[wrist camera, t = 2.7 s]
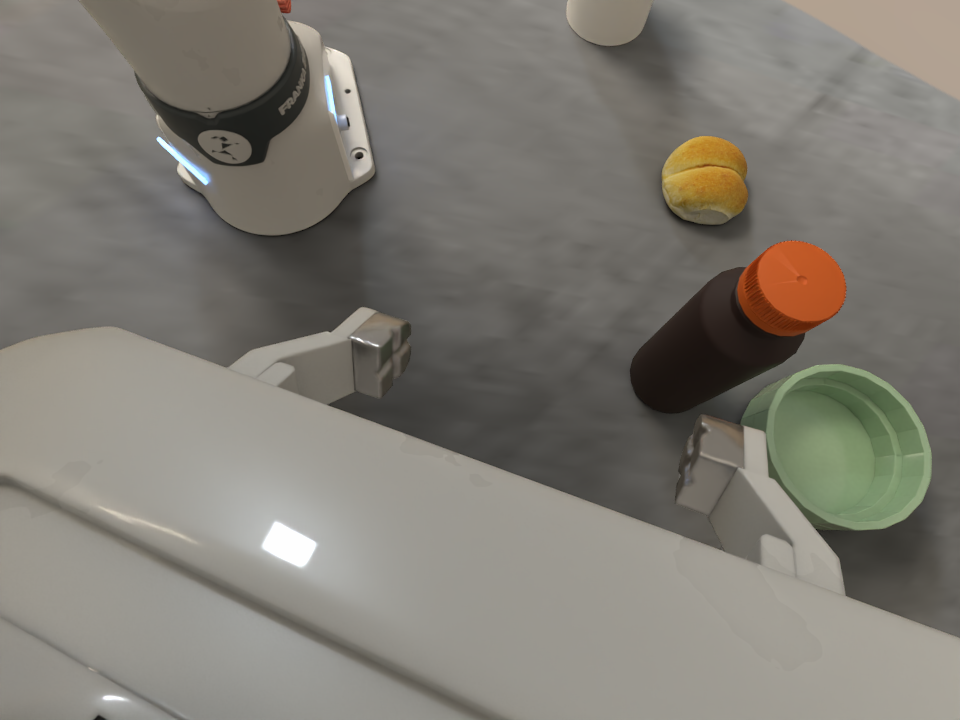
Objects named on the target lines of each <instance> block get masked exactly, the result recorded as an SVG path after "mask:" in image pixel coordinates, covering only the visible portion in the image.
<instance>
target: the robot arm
mask: <svg viewBox="0 0 960 720" xmlns="http://www.w3.org/2000/svg"><path fill="white" fill-rule="evenodd" d="M78 1H79V2H80V3H81V4H82V5H83V7H84V8H85V9H86V10H87V11H88V13H89V14H90V15H91V16H92V17H93V19H94V20H95V21H96V22H97V23H98V25H99V26H100V27H101V28H102V30H103V31H104V32H105V33H106V35H107V36H108V37H109V38H110V40H111V41H112V42H113V43H114V45H115V46H116V47H117V49H118V50H119V51H120V52H121V54H122V55H123V56H124V58H125V59H126V60H127V61H128V63H129V64H130V65H131V67H132V68H133V69H134V72H135V76H136V79H137V82H138V84H139V86H140V88H141V90H142V91H143V93H144V95H145V97H146V99H147V101H148V102H149V104H150V106H151V107H152V108H153V110H154V111H155V112H156V114H157V116H156V121H157V124H158V126H159V128H160V130H161V131H162V133H163V134H164V136H165V138H166V139H167V141H168V143H169V144H170V146H171V147H172V148H171V147H170V146H169V145H167V144H166V143H165V142H164V141H163V140H162V139H161V138H160V137H159V138H158V139H157V140H158V142H159V143H160V144H161V145H162V146H163V147H164V148H165V149H166V150H168V151H169V152H170V153H171V154H172V155H173V156H174V157H175V158H176V159H177V160H179V164H178V167H177V172H178V174H179V176H180V177H181V179H182V180H183V182H184V183H186V184H187V185H188V186H190V187H191V188H193V189H195V190H196V191H198V192H200V193H202V194H203V195H204V196H205V197H206V199H207V200H208V202H209V203H210V205H211V206H212V208H213V209H214V210H215V212H216V213H217V214H218V215H219V216H220V217H221V218H222V219H223V220H225V221H226V222H227V223H229V224H230V225H232V226H234V227H236V228H238V229H240V230H243V231H246V232H249V233H253V234H259V235H284V234H290V233H294V232H297V231H301V230H303V229H306V228H308V227H310V226H312V225H314V224H316V223H318V222H319V221H321V220H322V219H324V218H325V217H327V216H328V215H329V214H330V213H331V212H332V211H333V210H334V209H335V208H336V207H337V206H338V205H339V204H340V202H341V201H342V200H343V199H344V197H345V196H346V195H347V194H348V193H349V192H350V191H351V190H353V189H354V188H356V187H358V186H360V185H362V184H363V183H365V182H366V181H368V180H369V179H370V178H371V177H372V176H373V175H374V173H375V165H374V160H373V156H372V151H371V147H370V142H369V138H368V133H367V128H366V124H365V119H364V115H363V110H362V106H361V101H360V96H359V92H358V87H357V83H356V78H355V74H354V69H353V66H352V63H351V61H350V58H349V57H348V56H347V55H345V54H343V53H341V52H339V51H337V50H335V49H331V48H328V47H324V44H323V40H322V38H321V35H320V34H319V33H318V32H317V31H316V30H314V29H313V28H311V27H309V26H307V25H304V24H302V23H298V22H294V21H288V20H286V19H285V18H284V17H283V16H282V13H290V12H291V0H78ZM358 157H363V158H362V159H357V158H358ZM410 335H411V324H410V323H409V322H408V321H405V320H402V319H399V318H396V317H393V316H390V315H387V314H385V313H382V312H378V311H375V310H372V309H369V308H366V307H361V308H359V309H358V310H357V311H356V312H354V313H353V314H352V315H351V316H350V317H349V318H347V319H346V320H345V321H344V322H343V323H342V324H340V325H339V326H338V327H337V328H336V329H335V330H334V331H332V332H331V333H330V332H327V331H326V332H322V333H318V334H314V335H310V336H306V337H302V338H298V339H294V340H290V341H285V342H281V343H277V344H273V345H269V346H265V347H261V348H257V349H253V350H250V351H249V352H248V353H246V354H245V355H244V356H243V357H241V358H240V359H239V360H237V361H236V362H235V363H233V364H232V365H231V366H229V367H228V368H225V367H223V366H220V365H217V364H215V363H212V362H209V361H206V360H204V359H201V358H198V357H196V356H193V355H190V354H187V353H185V352H182V351H179V350H177V349H174V348H171V347H168V346H166V345H163V344H160V343H158V342H155V341H152V340H150V339H147V338H144V337H142V336H139V335H137V334H134V333H132V332H129V331H126V330H124V329H120V328H116V327H97V328H87V329H80V330H74V331H68V332H62V333H56V334H50V335H44V336H39V337H35V338H32V339H28V340H25V341H22V342H20V343H17V344H14V345H12V346H9V347H7V348H4V349H2V350H0V720H960V638H958V637H955V636H953V635H950V634H947V633H945V632H942V631H939V630H936V629H934V628H931V627H928V626H925V625H923V624H920V623H917V622H915V621H912V620H909V619H906V618H904V617H901V616H898V615H895V614H893V613H890V612H887V611H885V610H882V609H879V608H876V607H874V606H871V605H868V604H866V603H863V602H860V601H857V600H855V599H852V598H849V597H847V596H846V595H845V589H844V583H843V577H842V571H841V566H840V560H839V558H838V556H837V555H836V554H835V553H834V552H833V550H832V549H831V548H830V547H829V545H828V544H827V543H826V542H825V541H824V539H823V538H822V537H821V536H820V534H819V533H818V532H817V531H816V529H815V528H814V527H813V526H812V525H811V523H810V522H809V521H808V520H807V518H806V517H805V516H804V515H803V514H802V512H801V511H800V510H799V509H798V507H797V506H796V505H795V504H794V502H793V501H792V500H791V499H790V498H789V496H788V495H787V494H786V493H785V491H784V490H783V489H782V488H781V487H780V485H779V484H778V483H777V482H776V480H775V479H772V478H769V473H768V459H767V444H766V434H765V432H764V431H761V430H758V429H754V428H751V427H747V426H744V425H742V426H741V425H738V424H735V423H731V422H728V421H725V420H722V419H718V418H715V417H712V416H709V415H705V414H702V413H701V414H700V415H699V417H698V418H697V421H696V423H695V425H694V434H693V435H692V436H690V437H688V439H687V442H686V444H685V446H684V449H683V452H682V455H681V458H680V463H679V469H678V472H679V473H680V475H681V476H680V478H679V480H678V482H677V486H676V495H675V504H677V505H680V506H682V507H685V508H687V509H690V510H693V511H695V512H698V513H701V514H703V515H706V516H708V517H709V520H710V522H711V524H712V526H713V528H714V530H715V532H716V534H717V536H718V538H719V540H720V542H721V544H722V546H723V548H724V550H725V552H724V551H722V550H719V549H716V548H714V547H711V546H708V545H705V544H703V543H700V542H697V541H695V540H692V539H689V538H686V537H684V536H681V535H678V534H676V533H673V532H670V531H668V530H665V529H662V528H659V527H657V526H654V525H651V524H649V523H646V522H643V521H640V520H638V519H635V518H632V517H630V516H627V515H624V514H621V513H619V512H616V511H613V510H611V509H608V508H605V507H602V506H600V505H597V504H594V503H592V502H589V501H586V500H583V499H581V498H578V497H575V496H573V495H570V494H567V493H564V492H562V491H559V490H556V489H554V488H551V487H548V486H545V485H543V484H540V483H537V482H535V481H532V480H529V479H526V478H524V477H521V476H518V475H516V474H513V473H510V472H507V471H505V470H502V469H499V468H497V467H494V466H491V465H488V464H486V463H483V462H480V461H478V460H475V459H472V458H469V457H467V456H464V455H461V454H459V453H456V452H453V451H450V450H448V449H445V448H442V447H440V446H437V445H434V444H431V443H429V442H426V441H423V440H421V439H418V438H415V437H413V436H410V435H407V434H404V433H402V432H399V431H396V430H394V429H391V428H388V427H385V426H383V425H380V424H377V423H375V422H372V421H369V420H366V419H364V418H361V417H358V416H356V415H353V414H350V413H347V412H345V411H342V410H339V409H337V408H334V407H331V406H328V405H327V404H329V403H331V402H333V401H336V400H338V399H340V398H342V397H345V396H347V395H349V394H351V393H354V392H355V391H357V392H361V393H364V394H367V395H370V396H373V397H376V398H379V399H381V398H382V397H383V396H384V395H385V394H386V393H387V391H388V390H389V389H390V388H391V387H392V386H393V379H394V378H397V377H400V376H401V375H402V374H403V372H404V371H405V370H406V367H407V365H408V363H409V360H410V355H411V346H410V345H409V343H408V341H407V339H408V337H409V336H410Z"/></svg>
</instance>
